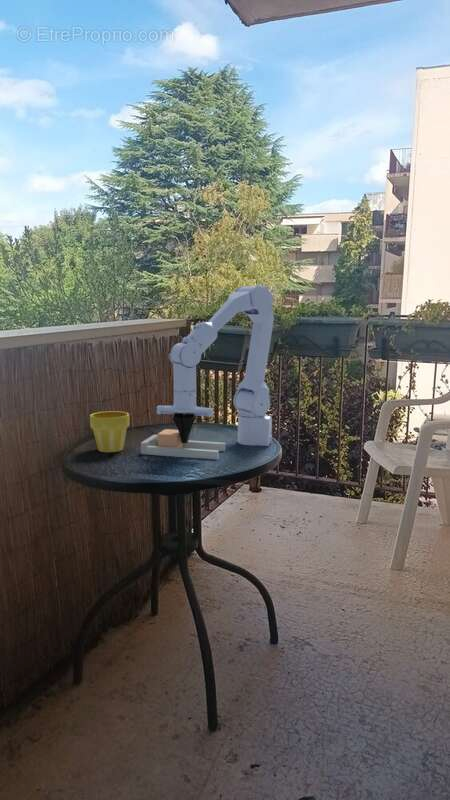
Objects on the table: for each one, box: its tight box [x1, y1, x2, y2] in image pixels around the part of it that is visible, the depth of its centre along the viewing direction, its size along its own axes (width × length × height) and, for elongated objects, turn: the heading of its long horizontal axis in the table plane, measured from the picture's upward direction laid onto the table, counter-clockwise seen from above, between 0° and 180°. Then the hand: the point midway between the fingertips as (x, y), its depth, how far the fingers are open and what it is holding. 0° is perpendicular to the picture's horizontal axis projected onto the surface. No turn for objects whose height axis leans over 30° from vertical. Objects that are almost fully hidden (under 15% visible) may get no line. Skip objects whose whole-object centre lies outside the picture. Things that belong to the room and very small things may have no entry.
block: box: [157, 428, 183, 448], centre depth 139 cm, size 5×6×5 cm
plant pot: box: [89, 410, 130, 453], centre depth 143 cm, size 10×10×10 cm
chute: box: [140, 434, 227, 460], centre depth 138 cm, size 20×14×4 cm
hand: (184, 442), depth 138 cm, fingers closed
